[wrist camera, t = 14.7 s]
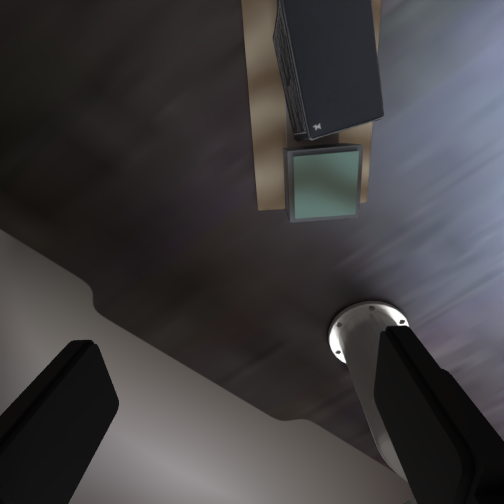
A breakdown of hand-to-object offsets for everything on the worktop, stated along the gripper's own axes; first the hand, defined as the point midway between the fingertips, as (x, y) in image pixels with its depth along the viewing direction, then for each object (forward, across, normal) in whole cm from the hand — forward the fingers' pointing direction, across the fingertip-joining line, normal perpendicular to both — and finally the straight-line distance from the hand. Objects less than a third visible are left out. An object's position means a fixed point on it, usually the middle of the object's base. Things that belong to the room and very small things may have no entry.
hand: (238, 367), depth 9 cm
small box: (+28, -7, -12) cm, 31 cm away
